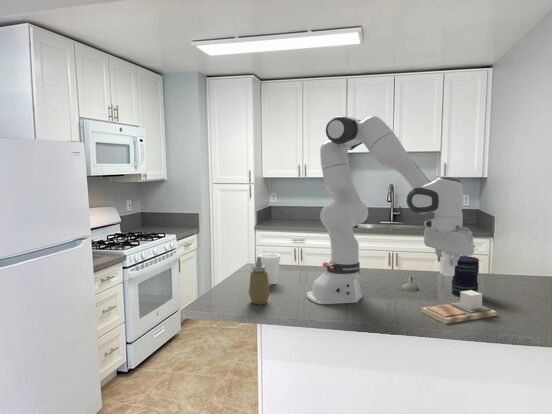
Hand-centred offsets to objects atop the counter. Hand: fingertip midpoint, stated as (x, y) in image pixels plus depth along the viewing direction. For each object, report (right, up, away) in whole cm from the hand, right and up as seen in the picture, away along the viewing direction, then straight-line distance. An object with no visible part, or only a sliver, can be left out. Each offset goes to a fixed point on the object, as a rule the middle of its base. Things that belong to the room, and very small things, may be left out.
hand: (447, 263), depth 139 cm
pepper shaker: (0, -4, 0) cm, 4 cm away
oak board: (+5, -18, +3) cm, 19 cm away
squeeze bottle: (-66, -18, +17) cm, 70 cm away
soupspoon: (+1, -16, +40) cm, 43 cm away
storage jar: (+18, -16, +25) cm, 35 cm away
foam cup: (-62, -15, +44) cm, 78 cm away
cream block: (+11, -16, +5) cm, 20 cm away
